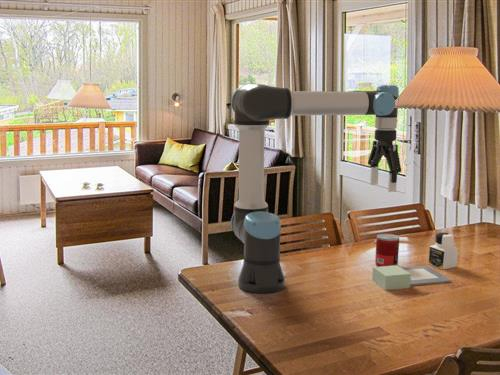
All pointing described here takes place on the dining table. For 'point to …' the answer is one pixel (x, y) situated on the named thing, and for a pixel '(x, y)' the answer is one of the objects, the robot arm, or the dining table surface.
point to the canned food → (387, 250)
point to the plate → (425, 275)
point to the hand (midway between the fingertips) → (382, 188)
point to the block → (391, 277)
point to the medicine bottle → (443, 252)
